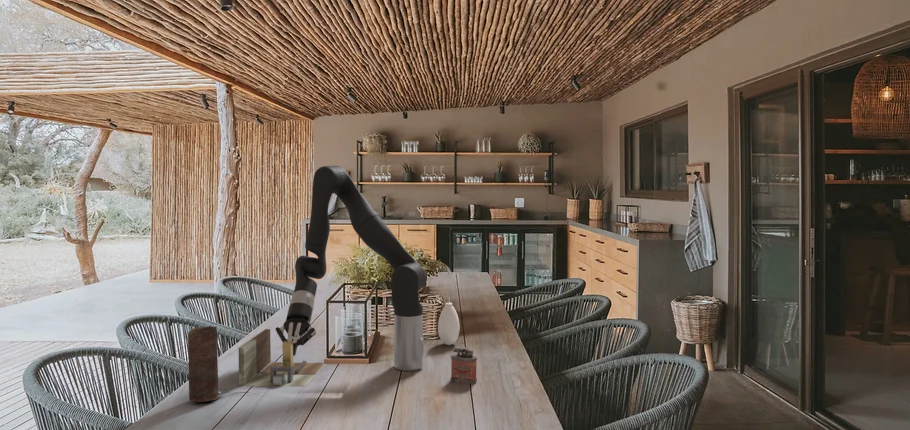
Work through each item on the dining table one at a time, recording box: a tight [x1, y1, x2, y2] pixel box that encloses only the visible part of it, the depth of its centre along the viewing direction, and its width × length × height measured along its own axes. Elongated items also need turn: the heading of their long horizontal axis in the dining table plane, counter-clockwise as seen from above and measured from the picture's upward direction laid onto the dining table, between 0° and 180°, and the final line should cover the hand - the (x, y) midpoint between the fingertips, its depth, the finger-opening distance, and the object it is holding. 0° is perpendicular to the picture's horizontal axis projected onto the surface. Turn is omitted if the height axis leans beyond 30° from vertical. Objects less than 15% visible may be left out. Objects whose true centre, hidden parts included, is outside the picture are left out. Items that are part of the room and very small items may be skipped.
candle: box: [187, 325, 220, 403], centre depth 156 cm, size 8×7×20 cm
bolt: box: [273, 341, 294, 385], centre depth 171 cm, size 2×11×10 cm, turn 179°
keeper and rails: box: [269, 360, 307, 383], centre depth 177 cm, size 6×17×4 cm, turn 178°
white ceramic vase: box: [437, 297, 461, 346], centre depth 214 cm, size 8×8×18 cm
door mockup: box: [238, 328, 325, 387], centre depth 176 cm, size 19×22×12 cm
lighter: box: [450, 346, 478, 384], centre depth 174 cm, size 8×3×10 cm, turn 71°
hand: (289, 356), depth 177 cm, fingers closed
